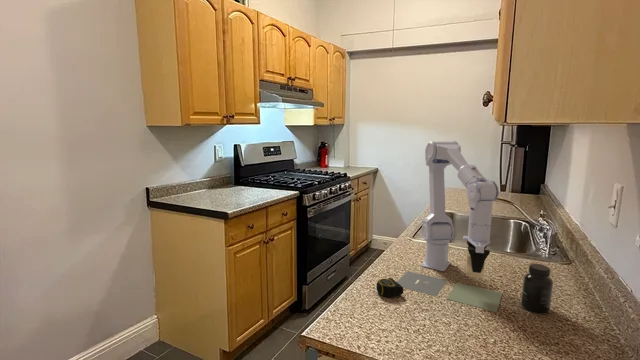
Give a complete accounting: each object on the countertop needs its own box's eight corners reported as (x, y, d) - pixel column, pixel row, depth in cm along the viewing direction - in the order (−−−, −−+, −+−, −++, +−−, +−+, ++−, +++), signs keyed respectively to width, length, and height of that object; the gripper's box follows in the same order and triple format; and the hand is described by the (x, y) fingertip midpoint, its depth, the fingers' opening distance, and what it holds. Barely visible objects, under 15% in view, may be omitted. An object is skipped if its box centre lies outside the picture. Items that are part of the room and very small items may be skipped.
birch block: (465, 270, 106) (467, 251, 105) (481, 272, 105) (483, 253, 104) (466, 276, 102) (467, 256, 101) (482, 278, 101) (484, 258, 100)
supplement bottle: (515, 304, 100) (519, 263, 98) (531, 300, 102) (536, 260, 100) (538, 316, 93) (543, 273, 91) (555, 311, 96) (560, 269, 94)
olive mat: (456, 282, 113) (456, 282, 113) (502, 293, 106) (502, 293, 106) (446, 299, 102) (446, 298, 102) (496, 312, 95) (496, 311, 95)
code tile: (407, 271, 122) (407, 271, 121) (447, 280, 115) (447, 280, 115) (393, 285, 111) (393, 285, 111) (436, 296, 104) (436, 296, 104)
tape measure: (404, 297, 103) (404, 285, 103) (383, 301, 101) (383, 288, 101) (392, 287, 110) (393, 276, 109) (372, 290, 108) (372, 278, 107)
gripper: (463, 215, 109) (460, 258, 111) (465, 228, 96) (461, 276, 98) (489, 218, 107) (485, 261, 109) (494, 231, 93) (490, 280, 95)
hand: (476, 268), depth 103 cm, fingers closed on birch block, 4 cm apart
